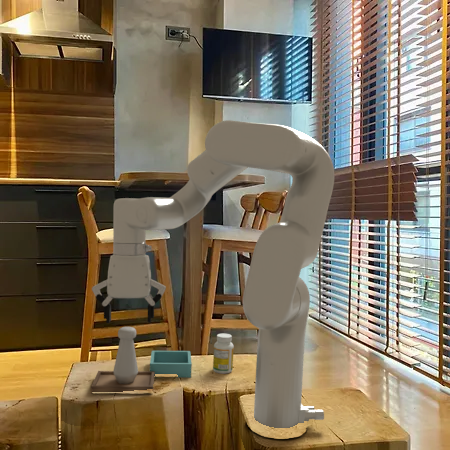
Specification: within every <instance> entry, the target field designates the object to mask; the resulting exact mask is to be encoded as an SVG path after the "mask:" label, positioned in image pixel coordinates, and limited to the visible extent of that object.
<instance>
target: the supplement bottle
mask: <svg viewBox="0 0 450 450" xmlns="http://www.w3.org/2000/svg"><path fill="white" fill-rule="evenodd" d="M232 337H233V336H232V335H231V334H230V333H218V334H217V335H216V340H217V341H216V342H215V343H214V345H213V359H212V360H213V361H212V371H213V372H215V373H216V374H224V375H225V374H230V373H232V371H233V364H234V350H235V349H234V347H235V346H234V344H233V342H232V340H233V338H232Z"/></svg>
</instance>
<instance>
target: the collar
mask: <svg viewBox="0 0 450 450" xmlns="http://www.w3.org/2000/svg"><path fill="white" fill-rule="evenodd" d="M150 354H151V355H150V361H149V371H155V374H177V375H178V377H177V378H192V364H193V363H192V355H191V351H190V350H151V353H150Z"/></svg>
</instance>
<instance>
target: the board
mask: <svg viewBox="0 0 450 450" xmlns="http://www.w3.org/2000/svg"><path fill="white" fill-rule="evenodd" d="M113 371H114V370H98V371H97V373H96V375H95V377H94V380H93V382H92V384H91V387H90V388H91V389H90V391H91V392H123V391H134V390H147V389H153V390H154V387H153V384H155V377H154V376H155V371H150V370H148V371H147V370H144V371H143V370H138V373H137V375H136V378H135V380H134V382H133V383H130V384H120V383H118V382H117V381H116V378H115V376H114V372H113ZM91 392H90V393H91Z"/></svg>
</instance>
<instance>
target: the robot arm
mask: <svg viewBox="0 0 450 450" xmlns="http://www.w3.org/2000/svg"><path fill="white" fill-rule="evenodd" d="M204 147H205V148H204V149H205V150H204V151H202V152H201V153H200V154H198V155H197V156H196V157H195V158H193V159H192V160H191V161H190V162H189V163H188V164H187V168H186V173H187V176H188V178H189V180H188V181H187V182H186V183H185V185H184V186H183V187H182V188H181V189H179V190H178V191H177V192H175V193H174V194H172V195H171V196H170V197H156V196H155V197H153V196H150V197H149V196H147V197H141V198H134V197H133V198H132V197H131V198H129V197H125V198H124V197H123V198H117V199H115V200H114V201H113V202H114V203H113V221H112V223H113V224H112V226H113V227H112V228H113V233H112V235H113V239H112V240H113V244H112V245H113V247H112V248H113V251H112V252H113V253H112V255H110V257H109V263H108V270H107V279H106V280H103V281H101V282H99V283H97V284H95V285H93V286H92V287H91V291H92V292H93V294H94V296H95V298H96V300H97V301H98V302H99V303H100V304H101V306H103V319H104V320H105V321H106V322H105V323H106V324H109V323H110V322H111V321H112V304H111V301H112V300H113V299H145V301H147V303H148V304H147V323H152V319H154V318H155V305H156V304H157V303H158V302H159V301H160V300H161V299H162V297H163V295H164V293H165V292H166V288H167V286H166V285H164V284H162V283H160V282H158V281H156V280H154V279H152V272H151V271H152V270H151V261H150V256H149V255H147V254H146V253H147V252H151V251H152V245H149V244H147V242H146V233H147V232H146V231H159V230H161V231H162V230H173V229H176V228H180V227H181V226H182V225H184V224H185V223H187V222H188V221H190V220H191V219H192V218H194V217H195V216H197V215H198V214H199V213H200V212H201V211H203V210H204V208H206V205H208V203H209V202H210V201H211V199H212V196H213V195H214V194H215V193H216V192H218V191H219V190H221V189H222V188H223V187H224V186H225V185H226V184H228V183H229V182H230V181H232V180H233V179H235V178H236V177H237V176H239V175H240V174H241V173H243V172H244V171H245V170H247V169H248V168H249V169H250V168H251V169H257V170H265V171H271V172H277V173H281V174H282V173H283V174H287V175H289V176H291V178H292V182H291V184H290V187H289V190H288V192H287V194H286V197H285V200H284V205H283V209H282V214H281V216H280V220H279V222H278V223H273V224H271V225H269V226H268V227H266V228H264V229H263V231H262V232H261V234H260V235H259V237H258V239H257V241H256V243H255V246H254V248H253V253H252V257H251V260H250V261H251V262H250V265H249V268H248V274H247V277H246V282H245V286H244V290H243V296H242V307H243V308H242V309H243V312H244V315H245V316H246V318H247V320H248V321H249V323H251V325H253V326H254V327H256V328H257V329H258V335H257V349H256V362H255V363H256V364H255V387H254V402H253V403H254V406H253V407H254V408H253V410H254V418H255V420H256V421H258V422H259V423H261V424H263V425H266V426H269V427H274V428H290V427H293V426H295V425H297V424H298V423H304V421H307V422H309V421H310V420H315V421H316V420H317V421H318V420H319V421H321V420H324V419H325V412H324V410H323V409H315V406H314V405H307V406H306V405H305V406H304V404H303V403H302V393H303V375H304V361H305V359H304V356H305V343H306V332H307V331H306V330H307V325H308V324H307V323H308V318H309V313H310V304H311V303H310V302H311V301H310V300H311V297H310V291H309V288H308V286H307V284H306V283H305V281H304V279H302V278H301V277H300V274H301V271H302V270H303V269H305V268H306V267H308V266H310V265H311V264H312V263H313V262H314V261H315V259H316V257H317V255H318V252H319V249H320V243H321V240H322V239H321V238H322V235H323V231H324V227H325V224H326V219H327V215H328V209H329V205H330V202H331V198H332V194H333V190H334V185H335V168H334V164H333V160H332V158H331V156H330V154H329V152H328V151H327V150H326V149H325V148H324V147H323V146H322V145H321V144H320V143H319V142H318V141H317V140H315V139H314V138H312V137H311V136H309V135H307V134H305V133H304V132H301V131H298V130H296V129H294V128H292V127H289V126H286V125H281V124H273V123H262V122H261V123H260V122H249V121H239V120H231V119H228V120H222V121H220V122H219V121H218V122H216V124H214V125H213V126H212V127H210V129H209V130H208V131H207V134H206V137H205V139H204ZM105 287H106V293H107V296H106V297H105V296H104V295H103V294H102V293H101V289H103V288H105ZM152 287H154V288H156V289H157V290H158V292H157V293H156V295H154V296H153V295H152V294H151V292H152Z"/></svg>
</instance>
